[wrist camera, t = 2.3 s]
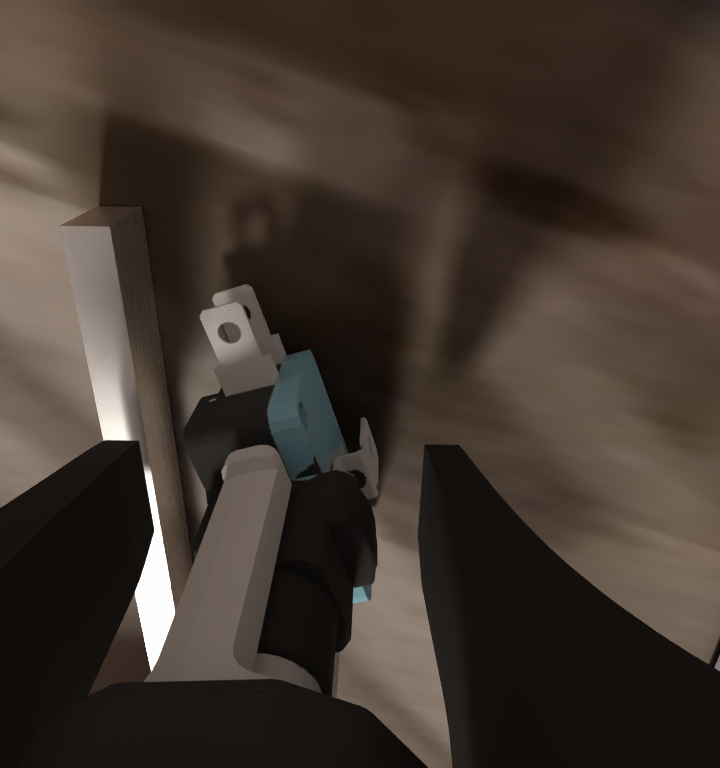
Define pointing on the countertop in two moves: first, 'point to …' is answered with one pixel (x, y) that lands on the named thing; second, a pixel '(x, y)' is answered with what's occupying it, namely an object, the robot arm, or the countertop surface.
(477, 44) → the countertop surface
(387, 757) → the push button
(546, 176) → the countertop surface
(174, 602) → the rail
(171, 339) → the countertop surface
